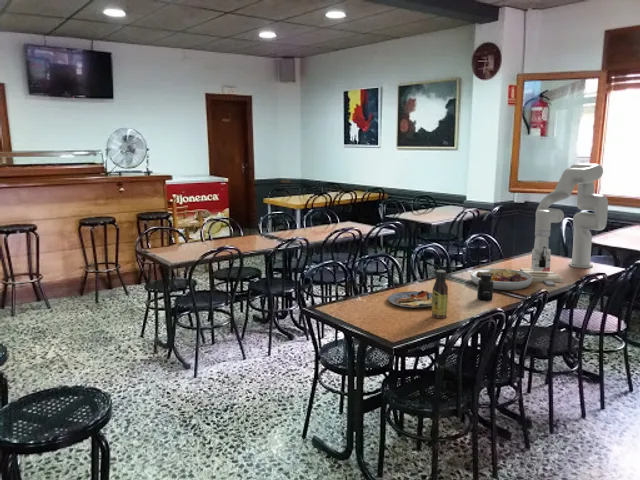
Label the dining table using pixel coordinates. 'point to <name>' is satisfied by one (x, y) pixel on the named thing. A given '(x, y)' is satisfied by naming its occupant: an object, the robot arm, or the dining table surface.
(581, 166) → the robot arm
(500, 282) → the bowl
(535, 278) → the birch board
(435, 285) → the sauce bottle
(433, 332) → the dining table surface
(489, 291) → the supplement bottle
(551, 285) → the grey mark
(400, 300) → the food plate
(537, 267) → the ink box
